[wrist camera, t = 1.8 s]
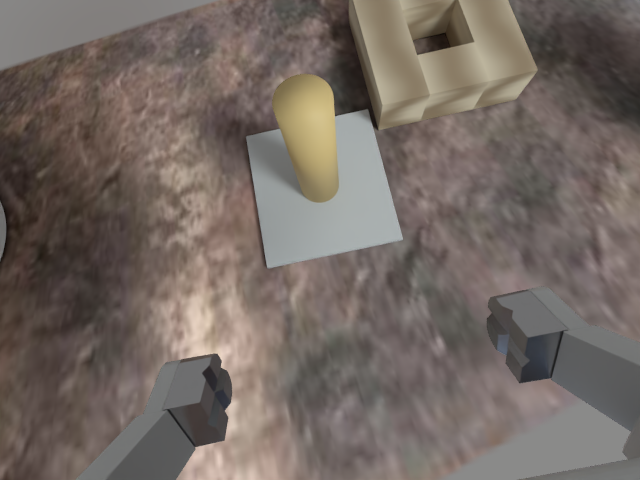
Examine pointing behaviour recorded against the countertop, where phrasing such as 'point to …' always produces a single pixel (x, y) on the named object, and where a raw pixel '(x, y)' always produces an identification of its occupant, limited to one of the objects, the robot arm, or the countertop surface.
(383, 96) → the hole block
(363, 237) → the mat
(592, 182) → the countertop surface
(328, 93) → the peg
